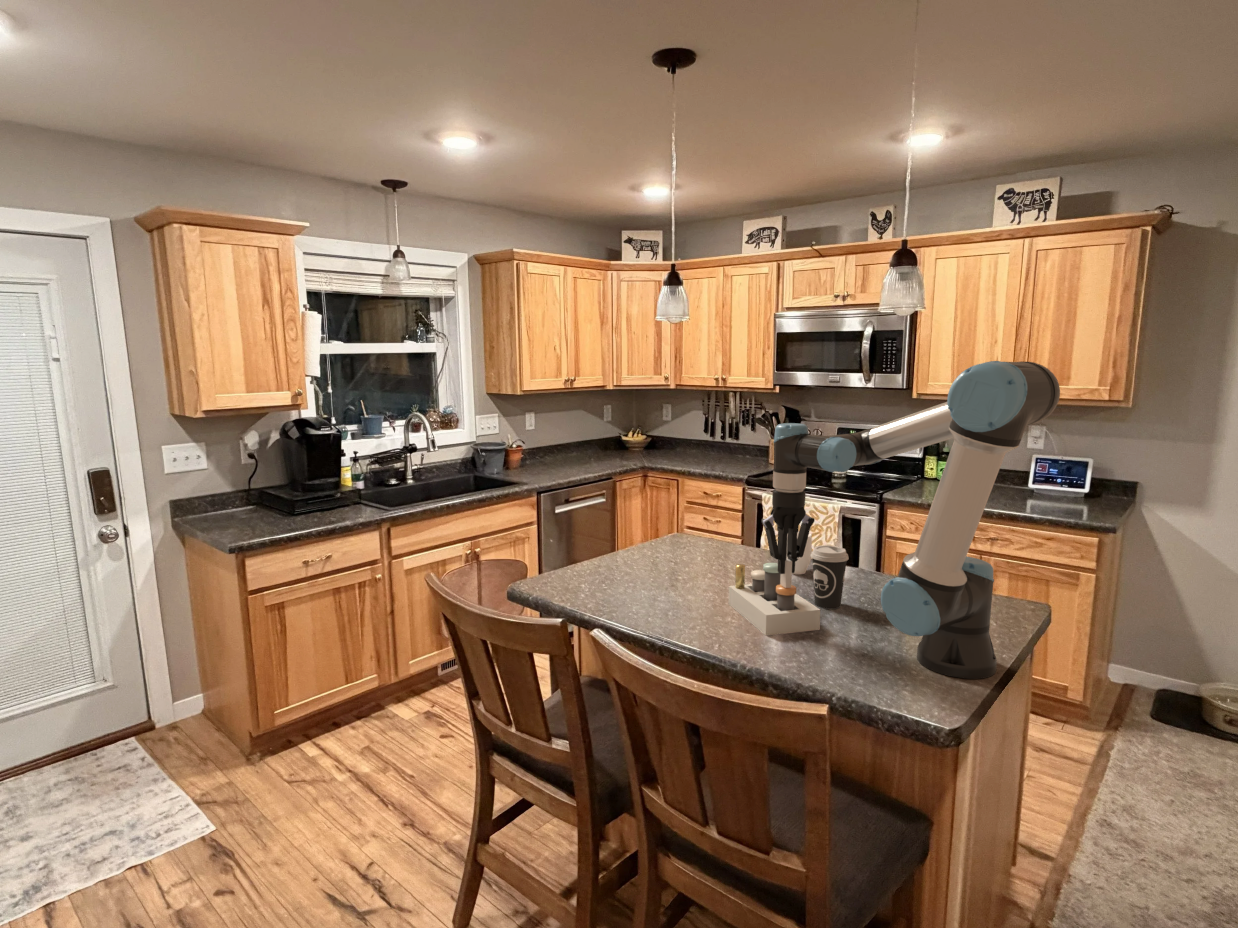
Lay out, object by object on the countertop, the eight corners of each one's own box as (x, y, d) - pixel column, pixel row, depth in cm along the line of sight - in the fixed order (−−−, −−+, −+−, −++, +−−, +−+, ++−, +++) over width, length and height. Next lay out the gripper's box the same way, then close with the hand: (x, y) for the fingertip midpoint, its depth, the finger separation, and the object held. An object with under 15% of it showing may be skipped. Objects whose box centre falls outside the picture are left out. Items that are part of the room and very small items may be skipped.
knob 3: (798, 626, 165) (800, 589, 164) (780, 628, 164) (781, 591, 163) (789, 619, 170) (790, 583, 168) (771, 621, 169) (772, 584, 167)
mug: (803, 578, 204) (803, 538, 202) (776, 573, 210) (776, 534, 208) (820, 568, 213) (820, 530, 211) (793, 564, 219) (793, 527, 217)
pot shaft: (746, 588, 180) (746, 566, 179) (737, 589, 179) (737, 566, 178) (742, 585, 182) (742, 563, 181) (733, 586, 181) (734, 564, 180)
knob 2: (785, 603, 171) (786, 567, 170) (767, 605, 170) (768, 568, 169) (776, 596, 176) (777, 562, 175) (759, 598, 175) (760, 563, 174)
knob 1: (772, 609, 179) (773, 574, 177) (755, 610, 178) (755, 576, 176) (763, 602, 183) (764, 569, 182) (747, 604, 182) (747, 570, 181)
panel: (819, 629, 165) (820, 609, 164) (765, 635, 162) (766, 615, 161) (777, 599, 186) (777, 581, 185) (728, 604, 183) (728, 585, 182)
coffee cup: (848, 612, 176) (851, 555, 174) (809, 609, 178) (812, 553, 176) (844, 599, 186) (846, 545, 183) (807, 597, 187) (809, 543, 185)
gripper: (806, 485, 167) (802, 579, 171) (756, 487, 164) (753, 583, 168) (822, 490, 160) (818, 588, 164) (770, 493, 157) (767, 593, 161)
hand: (785, 585), depth 166 cm, fingers closed
